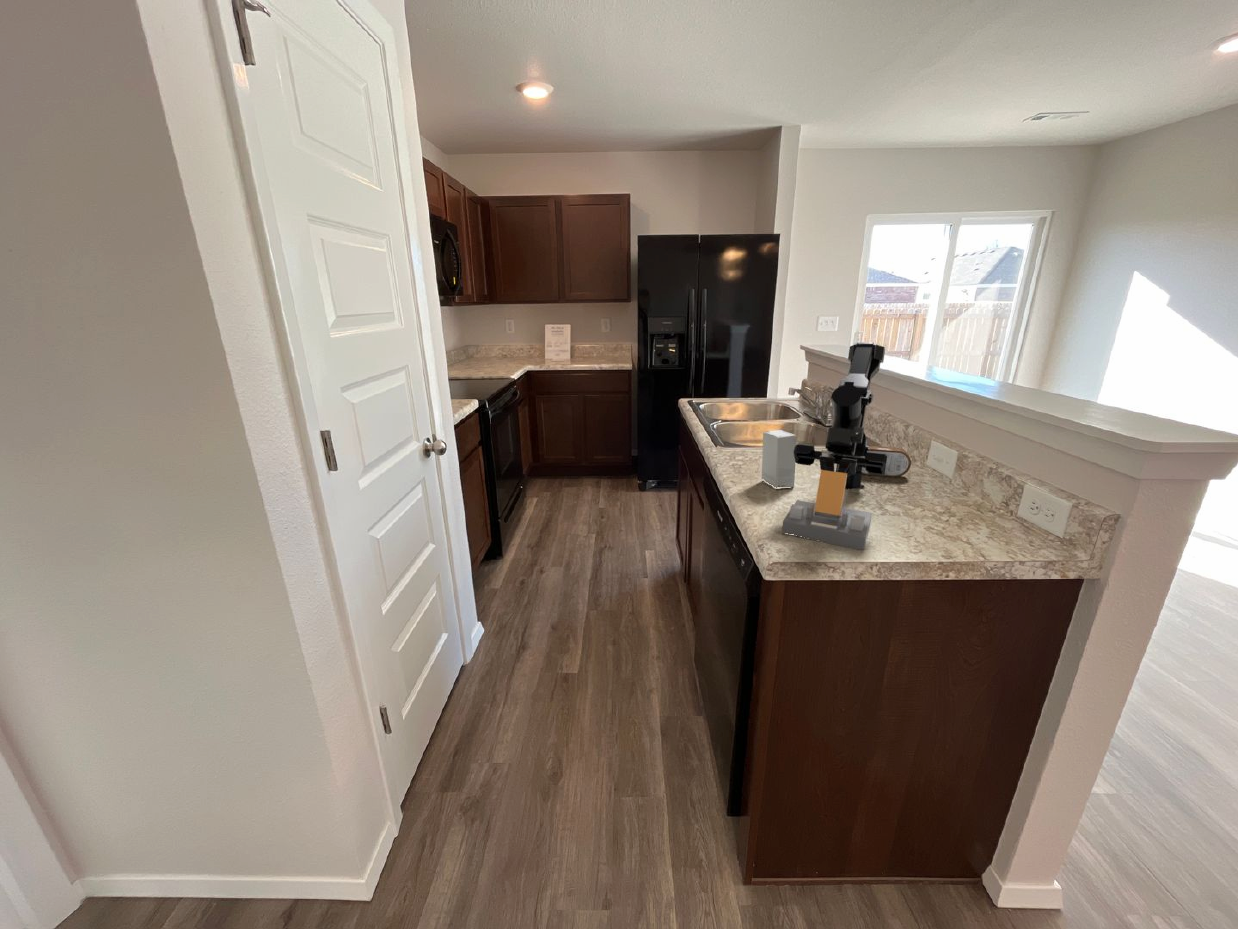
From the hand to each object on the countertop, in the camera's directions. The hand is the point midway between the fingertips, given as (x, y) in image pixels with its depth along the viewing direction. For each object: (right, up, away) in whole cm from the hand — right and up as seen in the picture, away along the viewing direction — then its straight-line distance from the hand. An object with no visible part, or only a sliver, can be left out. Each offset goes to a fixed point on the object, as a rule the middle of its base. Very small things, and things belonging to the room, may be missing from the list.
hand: (831, 492), depth 105 cm
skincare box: (-2, 0, +30) cm, 30 cm away
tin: (+30, +3, +36) cm, 47 cm away
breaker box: (0, -8, +2) cm, 8 cm away
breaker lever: (-2, -4, -2) cm, 5 cm away
